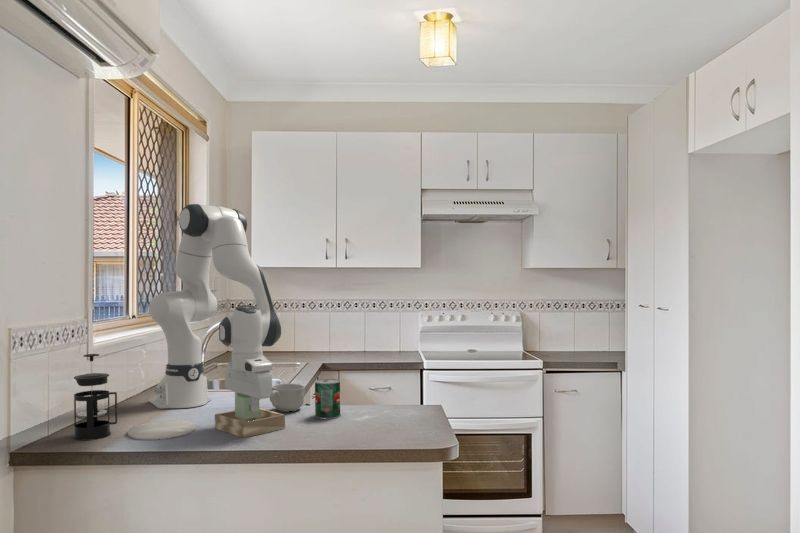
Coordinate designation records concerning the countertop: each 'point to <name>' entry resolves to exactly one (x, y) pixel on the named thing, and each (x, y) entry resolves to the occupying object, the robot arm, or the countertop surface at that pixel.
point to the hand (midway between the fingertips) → (247, 409)
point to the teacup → (287, 396)
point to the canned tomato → (327, 398)
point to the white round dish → (161, 430)
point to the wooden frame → (250, 423)
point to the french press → (92, 406)
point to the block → (244, 407)
